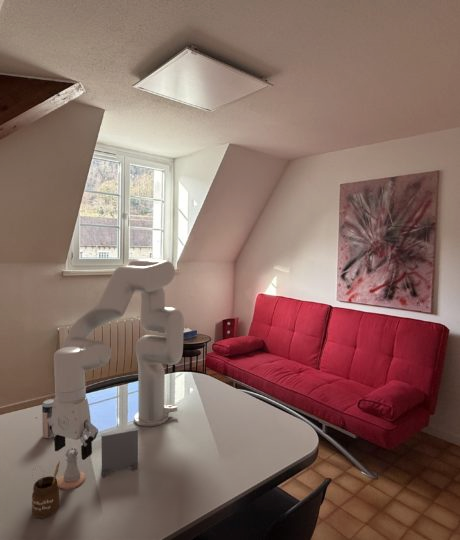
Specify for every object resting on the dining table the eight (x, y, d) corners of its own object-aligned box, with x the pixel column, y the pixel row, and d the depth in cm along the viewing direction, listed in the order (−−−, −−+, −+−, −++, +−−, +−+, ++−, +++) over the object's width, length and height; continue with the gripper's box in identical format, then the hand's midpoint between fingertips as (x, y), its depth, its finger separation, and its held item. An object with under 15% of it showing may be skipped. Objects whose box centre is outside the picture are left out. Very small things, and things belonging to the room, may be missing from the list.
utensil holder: (38, 501, 92) (38, 456, 91) (64, 501, 92) (63, 455, 92) (27, 519, 86) (26, 470, 85) (54, 518, 87) (53, 470, 86)
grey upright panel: (136, 459, 110) (136, 424, 110) (138, 469, 106) (138, 432, 105) (101, 467, 107) (101, 430, 106) (102, 477, 102) (102, 439, 101)
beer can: (51, 440, 121) (51, 404, 120) (39, 438, 122) (38, 403, 121) (61, 432, 125) (60, 398, 125) (49, 431, 126) (48, 397, 125)
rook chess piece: (68, 485, 97) (67, 456, 97) (60, 478, 100) (59, 450, 100) (83, 477, 101) (83, 449, 100) (75, 471, 104) (75, 443, 103)
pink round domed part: (84, 470, 105) (84, 468, 105) (85, 485, 98) (85, 483, 98) (58, 475, 102) (57, 473, 102) (56, 491, 96) (56, 489, 96)
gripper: (35, 393, 99) (38, 452, 100) (84, 405, 92) (87, 468, 94) (58, 382, 106) (61, 438, 107) (105, 393, 99) (107, 452, 101)
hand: (73, 452), depth 101 cm, fingers open, 9 cm apart
